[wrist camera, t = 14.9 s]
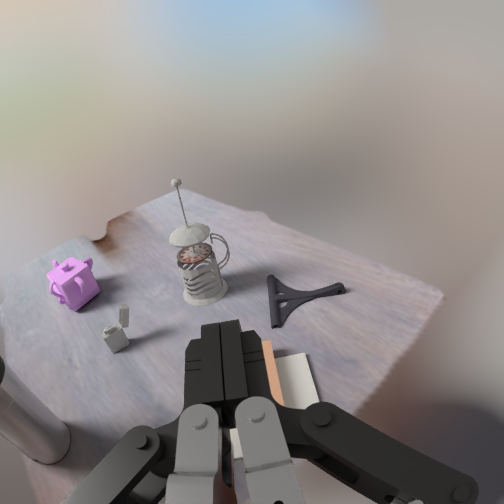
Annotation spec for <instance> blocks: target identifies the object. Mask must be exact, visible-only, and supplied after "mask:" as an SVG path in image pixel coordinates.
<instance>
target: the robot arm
mask: <svg viewBox="0 0 504 504" xmlns="http://www.w3.org/2000/svg"><path fill="white" fill-rule="evenodd" d="M236 426H237V430H238V435H239V440H240V445H241V450H242V454H243V459H244V464H245V477H246V482H247V487H248V491H249V496H250V500H251V504H306V503H305V500H304V497H303V493H302V490H301V487H300V484H299V480H298V477H297V474H296V471H295V467H294V464H293V462H292V460H291V457H293V458H303V459H307V460H308V461H310V462H311V463H313V464H314V465H316V466H317V467H319V468H320V469H322V470H323V471H325V472H326V473H328V474H329V475H331V476H333V477H334V478H336V479H337V480H339V481H340V482H342V483H344V484H345V485H347V486H348V487H350V488H352V489H353V490H355V491H357V492H358V493H360V494H362V495H364V496H365V497H367V498H369V499H371V500H372V501H374V502H376V503H378V504H474V503H475V502H476V500H477V497H478V485H477V483H476V481H475V480H474V479H473V478H472V477H470V476H468V475H466V474H463V473H461V472H459V471H457V470H455V469H453V468H450V467H448V466H446V465H444V464H442V463H440V462H438V461H436V460H434V459H431V458H430V457H428V456H426V455H424V454H422V453H420V452H418V451H416V450H414V449H412V448H410V447H408V446H406V445H404V444H402V443H400V442H399V441H397V440H395V439H393V438H391V437H389V436H388V435H386V434H384V433H382V432H380V431H378V430H377V429H375V428H373V427H371V426H370V425H368V424H366V423H364V422H363V421H361V420H359V419H357V418H356V417H354V416H352V415H351V414H349V413H347V412H345V411H344V410H342V409H340V408H339V407H337V406H336V405H334V404H332V403H329V402H317V403H313V404H311V405H310V406H308V407H307V408H306V409H295V408H288V407H284V406H282V405H280V404H279V403H277V402H276V401H275V399H274V398H273V396H272V394H271V390H270V384H269V379H268V374H267V368H266V363H265V358H264V352H263V347H262V341H261V338H260V337H259V336H258V334H257V333H256V332H255V331H254V330H251V331H245V332H242V330H241V326H240V322H239V319H237V320H231V321H225V322H221V324H220V322H219V323H212V324H206V325H202V326H201V338H200V339H193V340H191V341H190V343H189V345H188V347H187V349H186V351H185V383H184V408H183V411H182V413H181V414H180V416H179V417H178V418H177V419H176V420H175V421H173V422H171V423H169V424H167V425H164V426H161V427H159V428H156V429H152V428H151V427H148V426H137V427H134V428H132V429H131V430H130V431H128V432H127V434H126V435H125V436H124V437H123V438H122V439H121V440H120V441H119V442H118V443H117V444H116V445H115V446H114V448H113V449H112V450H111V451H110V452H109V453H108V454H107V455H106V456H105V457H104V458H103V459H102V460H101V461H100V462H99V464H98V465H97V466H96V467H95V468H94V469H93V470H92V471H91V472H90V473H89V474H88V475H87V476H86V477H85V478H84V479H83V480H82V481H81V482H80V483H79V485H78V486H77V487H76V488H75V489H74V490H73V491H72V492H71V493H70V494H69V495H68V496H67V497H66V498H65V499H64V500H63V501H62V502H61V503H60V504H158V502H159V501H160V500H161V499H162V498H163V497H164V496H165V494H166V499H165V504H237V497H236V493H235V487H234V446H233V442H232V441H231V437H230V429H234V428H236ZM0 436H1V437H2V438H3V439H5V440H6V441H7V442H9V443H10V444H11V445H12V446H14V447H15V448H16V449H18V450H19V451H21V452H22V453H23V454H25V455H26V456H27V457H29V458H30V459H32V460H38V461H40V462H41V463H45V464H52V463H55V462H57V461H59V460H60V459H62V458H63V457H64V455H65V454H66V452H67V451H68V448H69V446H70V432H69V430H68V427H67V426H66V425H65V424H64V423H63V422H62V421H61V420H60V419H59V418H58V417H57V416H56V415H55V414H54V413H52V411H50V410H49V409H48V408H47V407H46V406H45V405H44V404H43V403H42V402H41V401H40V400H39V399H38V398H37V397H36V396H35V395H34V394H33V393H32V392H31V390H30V389H29V388H28V387H27V386H26V385H25V384H24V383H23V382H22V381H21V380H20V379H19V377H18V376H17V375H16V374H15V373H14V372H13V371H12V370H11V368H10V367H9V366H8V365H7V364H6V362H5V361H4V360H3V359H2V358H1V356H0Z"/></svg>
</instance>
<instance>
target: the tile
mask: <svg viewBox="0 0 504 504" xmlns="http://www.w3.org/2000/svg"><path fill="white" fill-rule="evenodd" d="M262 347H263V352H264V358H265V363H266V368H267V374H268V379H269V384H270V390H271V394H272V396H273V398H274V399H275V401H276V402H277V403H279V404H280V405H282V406H284V401H283V397H282V392H281V387H280V383H279V378H278V373H277V369H276V364H275V359H274V355H273V350H272V345H271V341H270V340H267V341H262ZM284 407H285V406H284Z"/></svg>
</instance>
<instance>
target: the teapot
mask: <svg viewBox="0 0 504 504" xmlns="http://www.w3.org/2000/svg"><path fill="white" fill-rule="evenodd" d="M51 262H52V264H53V265H54V267H55V269H53V270H52V271H51V272H49V273H48V274H47V277H48V279H49V281H50V285H49V291H50V292H51V294H53V295H55V296H57V297H59V299H58V300H59V303H60V304H64V303H65V304H66V305H68V306H69V307H70V308H71V309H72V310H74V311H75V312H76V311H77V310H78V309H80V308H81V307H82V306H83V305H84V304H86V303H87V302H88V301H89V300H91V299H92V298H93V297H94V296H96V295H97V294H98V293H99V292H101V290H100V288H99V286H98V284H97V282H96V280H95V278H94V276H93V274H92V272H91V269H92V264H93V261H92V259H91V258H86V259H84V260H82V261H79V260H77V259H75V258H73V257H70V258H68V259H67V260H66V261H64V262H63V263H61V264H60V265H59V264H58V263H57V262H56V261H55V260H52V261H51ZM85 263H87V264H85ZM52 287H53V288H54V290H55V292H56V293H55V292H54V291H53V290H52ZM61 300H62V301H61Z"/></svg>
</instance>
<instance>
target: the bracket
mask: <svg viewBox="0 0 504 504" xmlns="http://www.w3.org/2000/svg"><path fill="white" fill-rule="evenodd" d="M267 280H268V292H269V304H270V316H271V328H272V329H273V328H274V326H275V325H278V326H279V328H281V326H282V325H283V324H284V322H285V320H286V318H287V317H288V315H289V314H290V313H291V312H292V311H293V310H294V309H295V308H296V307H297V306H299V305H301V304H303V303H305V302H307V301H309V300H312V299H314V298H320V297H327V296H334V295H340V294H345V292H346V290H345V287H344V285H343V284H342V283H339V282H338V283H335V284H333V285H330V286H327V287H324V288H321V289H318V290H314V291H299V290H294V289H292V288H289V287H287V286H285V285H284V284H282V283H281V282H280V281H279V280H278V279H277V278H276V279H275V276H274V275H269V276H268V277H267ZM341 290H342V291H341ZM340 291H341V292H340ZM338 292H339V293H338ZM277 293H284V295H277ZM282 302H288V303H287V304H286V306H284V307H282V308H279V307H278V303H282Z"/></svg>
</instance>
